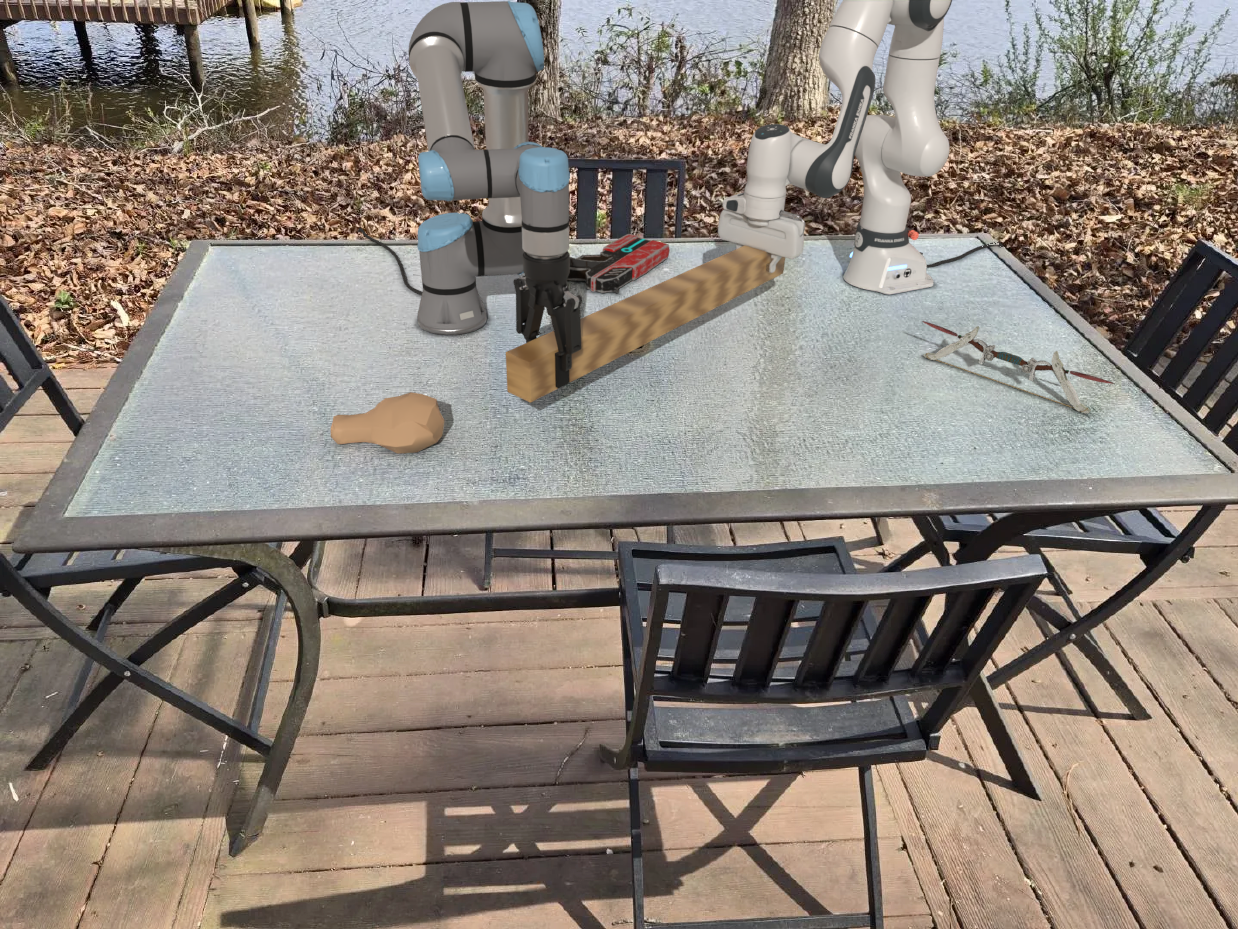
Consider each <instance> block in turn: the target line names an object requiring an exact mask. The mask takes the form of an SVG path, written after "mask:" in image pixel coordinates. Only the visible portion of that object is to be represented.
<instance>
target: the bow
mask: <svg viewBox="0 0 1238 929" xmlns="http://www.w3.org/2000/svg"><path fill="white" fill-rule="evenodd" d="M921 322H922V323H924V324H925V325H927V326H929V327H931V328H933V329H935V330H938V331H940V332H942V333H944V334H947V335H949V336H950V335H951V336H953V337H957V339H958V340H957V341H956V342H952V343H950V344H948V345H946V346H944V347H942V348H941V349H939V350H938V351H937V352H925V353H924V354H923V357H924V358H926V360H929V361H937V362H939V363H943V364H945V365H948V366H951V367H954V368H957V369H959V370H962V371H966V372H968V373H971V374H974V375H977V376H980V377H983V378H985V379H987V380H988V379H989V380H991V381H994V382H997V383H1000V384H1003V385H1005V386H1008V387H1012V388H1015V389H1017V390H1020V391H1023V392H1026V393H1028V394H1031V395H1033V396H1037V397H1040V398H1043V399H1046V400H1048V401H1052V402H1055V403H1057V404H1060V405H1063V406H1066V407H1069V408H1072V409H1074V410H1075V411H1077V412H1079V413H1082V414H1090V412H1091V411H1092V409H1090V408H1089V407H1087V406H1085V404H1083V403H1082V402H1080V399H1079V396H1078V393H1077V391H1076V389H1075V386H1074V385H1073V384H1072V382H1071V381H1070V380H1069V378H1068V377H1067V374H1070V375H1073V376H1075V377H1079V378H1082V379H1084V380H1089V381H1094V382H1097V383H1103V384H1109V385H1113V384H1114V382H1113V381H1110V380H1107V379H1103V378H1102V377H1098V376H1094V375H1091V374H1089V373H1088V374H1087V373H1084V372H1081V371H1080V372H1079V371H1075V370H1069V369H1065V367H1064V366H1065V365H1064V363H1063V361H1062V360H1061V359H1060V355H1059V351H1058V350H1055V351H1054V352H1053V353H1052V357H1051V360H1050V361H1051V362H1049V361H1047V360H1037V359H1035V358H1034V357H1031V358H1030V359H1029V360H1024V358H1022V357H1021V356H1019V355H1015V354H1012V353H1010V352H1008V351H996V350H995V349H996V345H995V344H993V345H991V344H990V345H988V344H987V343H986V342H985V341H984V340H982V339H979V338H976V336H978V333H979V329H980V326H978V325H977V326H976V327H974V328H973V329H972V330H971V331H969V332H966V333H965V334H963V335H962V334H958V333H957V332H955V331H952V330H950V329H948V328H946V327H943V326H940V325H937V324H936V323H935V324H934V323H931V322H928V321H925V320H922V321H921ZM975 338H976V339H975ZM969 345H972V346H973V347H974V348H975V349H976V350H978V351H979V352H981V353H982V354H981V357H979V360H978V362H977V364H980V365H983V364H984V363H985V361H988V362H992V361H993V360H994V359H995V358H996V359H998V360H1001V361H1005V362H1007V363H1010V364H1013V365H1016V366H1019V367H1020V366H1021V372H1023V373H1024V374H1029V375H1028V381H1030V382H1034V381H1035V380H1036V372H1037V371H1038V372H1039V371H1041V372H1042V371H1043V372H1044V371H1051V372H1052V373H1053V374H1054V376H1055V377H1056V379H1057V381H1058V382H1059V384H1060V387H1061V389H1062V391H1063V393H1064V394H1065V397H1066V399H1067V401H1068V402H1069V404H1070V405H1069V404H1065V403H1063V402H1061V401H1057V400H1054V399H1051V398H1048V397H1046V396H1043V395H1040V394H1037V393H1034V392H1031V391H1028V390H1025V389H1023V388H1020V387H1016V386H1014V385H1012V384H1008V383H1005V382H1003V381H999V380H996V379H995V378H991V377H988V376H985V375H982V374H979V373H976V372H974V371H971V370H968V369H965V368H962V367H959V366H957V365H954V364H951V363H948V362H945V361H942V360H940V359H942V358H946V357H948V356H949V355H951V354H953V353H954V352H957V351H958V350H959V349H962V348H964V347H966V346H969Z"/></svg>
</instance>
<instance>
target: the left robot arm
mask: <svg viewBox="0 0 1238 929" xmlns="http://www.w3.org/2000/svg"><path fill="white" fill-rule="evenodd" d="M407 51H408V62H409V68H410V70H411V72H412V75H413V76H414V77H415V78H416V79H417V83H418V91H419V98H420V104H421V111H422V118H423V125H424V132H425V137H426V145H427V151H422V152H420V153H419V154H418V156H417V162H418V172H419V173H418V174H419V181H420V190H421V195H422V197H423V198H424V199H425V200H427V201H445V202H453V201H469V200H482V199H483V200H484V199H488V205H487V206H486V207H485V208H484V209H483V210H482V213H481V220H477V221H473V218H472V217H471V216H470V215H469V214H468V213H464V212H460V213H459V212H447V213H442V214H441V213H440V214H437V215H434V216H431V217H429V218H427V219H426V220H424V221H423V222H421V224H419V226H418V229H417V247H416V248H417V250H418V252H419V253H418V254H419V263H420V275H421V276H420V277H421V284H422V291H421V290H419V289H416V288H415V287H413V286H411V285H410V284H409V282H408V279H407V276H406V273H405V270H404V267H403V264H402V261H401V260H400V258H399V256H398V255H397V253H396V252H395V251H394V250H393V249H392V248H391V247H389V246H388V245H386V244H385V243H384V242H382V241H380V240H378V239H375V238H374V237H372V236H370V235H369V234H367V232H365V230H364V229H363V228H362V227H359V228H358V230H357V233H361V234H362V235H363V237H365V238H366V239H367V240H369V241H370V242H373V243H375V244H377V245H379V246H381V247H383V248H384V249H385V250H387V251H388V252H389V253H390V254H391V255H392V256H393V257H394V259H395V261H396V263H397V265H398V267H399V271H400V274H401V277H402V281H403V283H404V286H405V287H406V289H408V290H410V291H411V292H413V293H415V294H418V295H420V296H421V297H420V302H419V305H418V310H417V317H416V318H417V325H418V326H419V328H420V329H421V330H423V331H424V332H427V333H430V334H433V335H440V336H459V335H465V334H469V333H473V332H476V331H477V330H480V329H481V328H483V327H484V326H485V325H486V323H487V320H488V316H487V310H486V306H485V304H484V302H483V299H482V298H481V295H480V293H479V291H478V288H477V278H476V277H479V278H481V277H495V276H510V275H511V276H512V275H517V276H519V277H516V278H514V279H513V280H512V283H513V287H514V292H515V329H516V330H515V331H516V333H517V334H518V335H522V336H523V338H524V340H525V343H527V342H530V341H532V340H534V339H536V338H539V337H540V335H542V332H541V331H540V329H541V324H542V320H543V317H544V316H543V315H544V311H545V310H546V313H547V315H548V316H549V317H550V319H551V324H552V328H553V331H554V334H555V338H556V342H557V346H558V352H556V353H555V382H556V388H558V389H561V388H564V387H565V386H566V385H569V384H570V383H569V369H571V367H572V354H573V353H575V352H577V351H579V350H581V348H582V347H581V322H580V319H581V307H582V303H583V297H582V295H581V294H578V295H574V294H573V293H572V292H571V291H570V288H569V285H568V280H567V278H568V275H569V273H570V257H571V254H570V252H569V250H570V179H571V173H570V169H569V157H568V155H567V153H566V152H565V151H564V150H561V149H558V148H555V147H549V146H548V147H547V146H542V145H541V144H539V143H537V142H533V141H529V90H530V88H531V87H532V86H534V85H535V83H536V72H537V73H539V72H541V71H543V70H544V68H545V51H544V44H543V38H542V32H541V28H540V22H539V19H538V16H537V13H536V10H535V9H534V7H533V6H532V5H531V4H530V3H527V2H518V1H511V0H503V1H499V0H498V1H496V0H495V1H450V2H445V3H442V4H440V5H438V6H436V7H434V8H433V9H431V10H430V11H429V12H427V13H426V14H425V15H424V16H423V17H422V18H421V19H420V21H419V22H418V23H417V24H416V26H415V28H414V30H413V32H412V34H411V37H410V39H409V43H408V50H407ZM462 72H466V73H474V82H475V83H476V84H477V85H478V86H479V87H480V88H481V89H482V90H483V108H484V111H483V112H484V132H485V134H484V135H485V149H475V142H474V138H473V137H474V136H473V133H472V127H471V122H470V117H469V111H468V106H467V100H466V96H465V90H464V84H463V80H462ZM379 241H380V242H379ZM521 275H522V276H521ZM565 345H566V346H565Z"/></svg>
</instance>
